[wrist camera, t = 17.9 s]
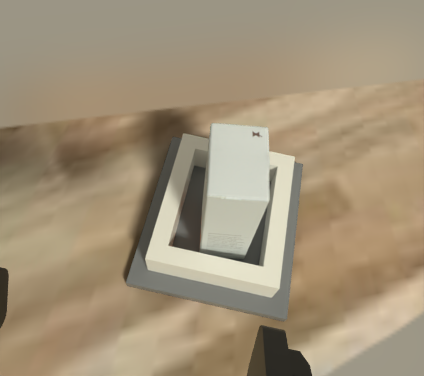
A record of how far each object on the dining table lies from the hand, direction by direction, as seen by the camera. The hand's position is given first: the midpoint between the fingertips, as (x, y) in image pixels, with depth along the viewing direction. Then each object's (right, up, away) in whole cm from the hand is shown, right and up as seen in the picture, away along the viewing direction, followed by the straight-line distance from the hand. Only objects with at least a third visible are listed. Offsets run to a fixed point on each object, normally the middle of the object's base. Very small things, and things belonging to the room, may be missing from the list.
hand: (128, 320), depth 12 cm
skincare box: (+4, 0, +24) cm, 24 cm away
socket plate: (+4, +1, +25) cm, 26 cm away
